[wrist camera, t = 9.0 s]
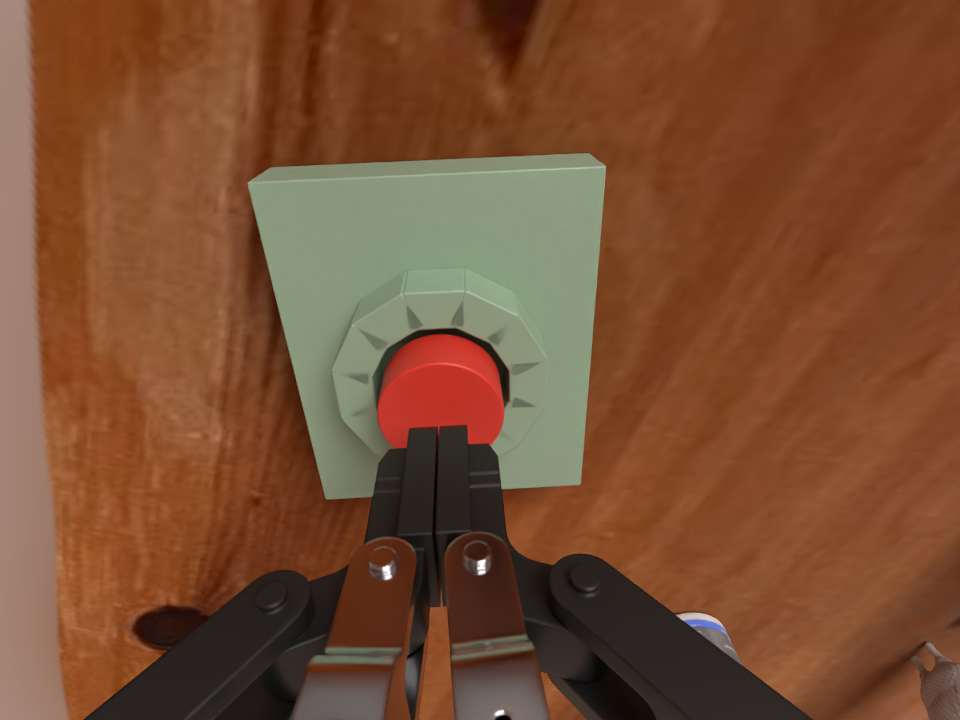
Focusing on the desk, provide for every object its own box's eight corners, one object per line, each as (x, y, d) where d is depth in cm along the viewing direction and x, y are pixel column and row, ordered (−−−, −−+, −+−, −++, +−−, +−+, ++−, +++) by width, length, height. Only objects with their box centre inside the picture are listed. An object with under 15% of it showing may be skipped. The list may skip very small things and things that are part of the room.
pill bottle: (730, 646, 31) (815, 830, 24) (650, 668, 32) (709, 853, 24) (715, 599, 29) (805, 787, 21) (630, 624, 29) (688, 813, 22)
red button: (376, 335, 16) (368, 366, 14) (499, 329, 16) (504, 359, 14) (390, 433, 17) (385, 470, 16) (500, 427, 18) (505, 463, 16)
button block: (269, 167, 17) (221, 197, 13) (589, 152, 17) (624, 179, 13) (335, 462, 23) (314, 536, 19) (570, 449, 23) (591, 520, 19)
